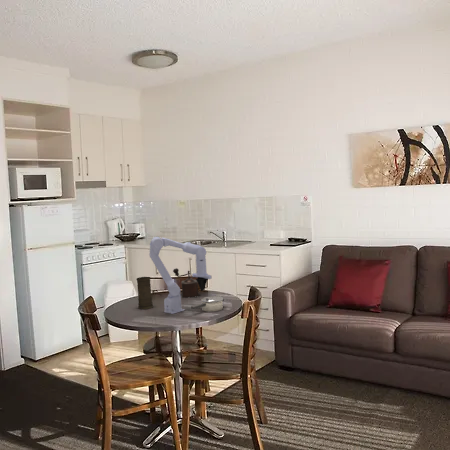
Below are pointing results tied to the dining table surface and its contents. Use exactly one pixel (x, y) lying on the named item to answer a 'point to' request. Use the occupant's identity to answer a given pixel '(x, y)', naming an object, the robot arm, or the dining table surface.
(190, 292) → the manual coffee grinder
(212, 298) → the lid
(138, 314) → the dining table surface
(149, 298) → the container
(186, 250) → the robot arm
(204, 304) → the pot
